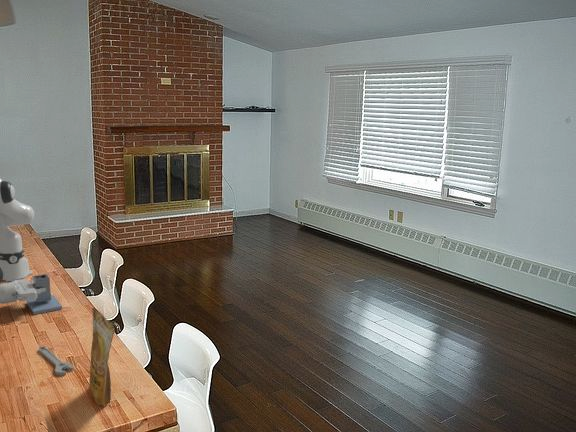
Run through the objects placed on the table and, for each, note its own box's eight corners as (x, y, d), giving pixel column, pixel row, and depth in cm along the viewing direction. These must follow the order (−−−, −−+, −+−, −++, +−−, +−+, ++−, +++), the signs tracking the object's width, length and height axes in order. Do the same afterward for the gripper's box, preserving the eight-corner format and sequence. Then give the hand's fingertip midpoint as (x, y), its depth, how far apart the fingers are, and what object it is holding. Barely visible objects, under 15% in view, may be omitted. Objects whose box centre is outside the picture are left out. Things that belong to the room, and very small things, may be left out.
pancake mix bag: (106, 378, 191) (101, 304, 184) (119, 406, 175) (115, 325, 168) (86, 383, 187) (81, 307, 181) (98, 411, 171) (92, 329, 165)
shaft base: (26, 303, 255) (24, 277, 252) (54, 297, 261) (52, 273, 258) (33, 314, 242) (31, 288, 239) (62, 309, 249) (60, 283, 246)
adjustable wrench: (37, 351, 210) (37, 347, 210) (54, 347, 214) (54, 342, 214) (58, 377, 191) (57, 373, 191) (76, 372, 195) (76, 367, 195)
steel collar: (34, 298, 253) (32, 276, 251) (48, 296, 257) (46, 273, 254) (37, 302, 248) (35, 279, 246) (51, 300, 252) (49, 277, 249)
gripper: (14, 293, 235) (48, 287, 243) (6, 279, 251) (38, 274, 259) (15, 306, 236) (49, 300, 244) (7, 292, 253) (39, 286, 260)
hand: (43, 286), depth 252 cm, fingers closed on steel collar, 6 cm apart
